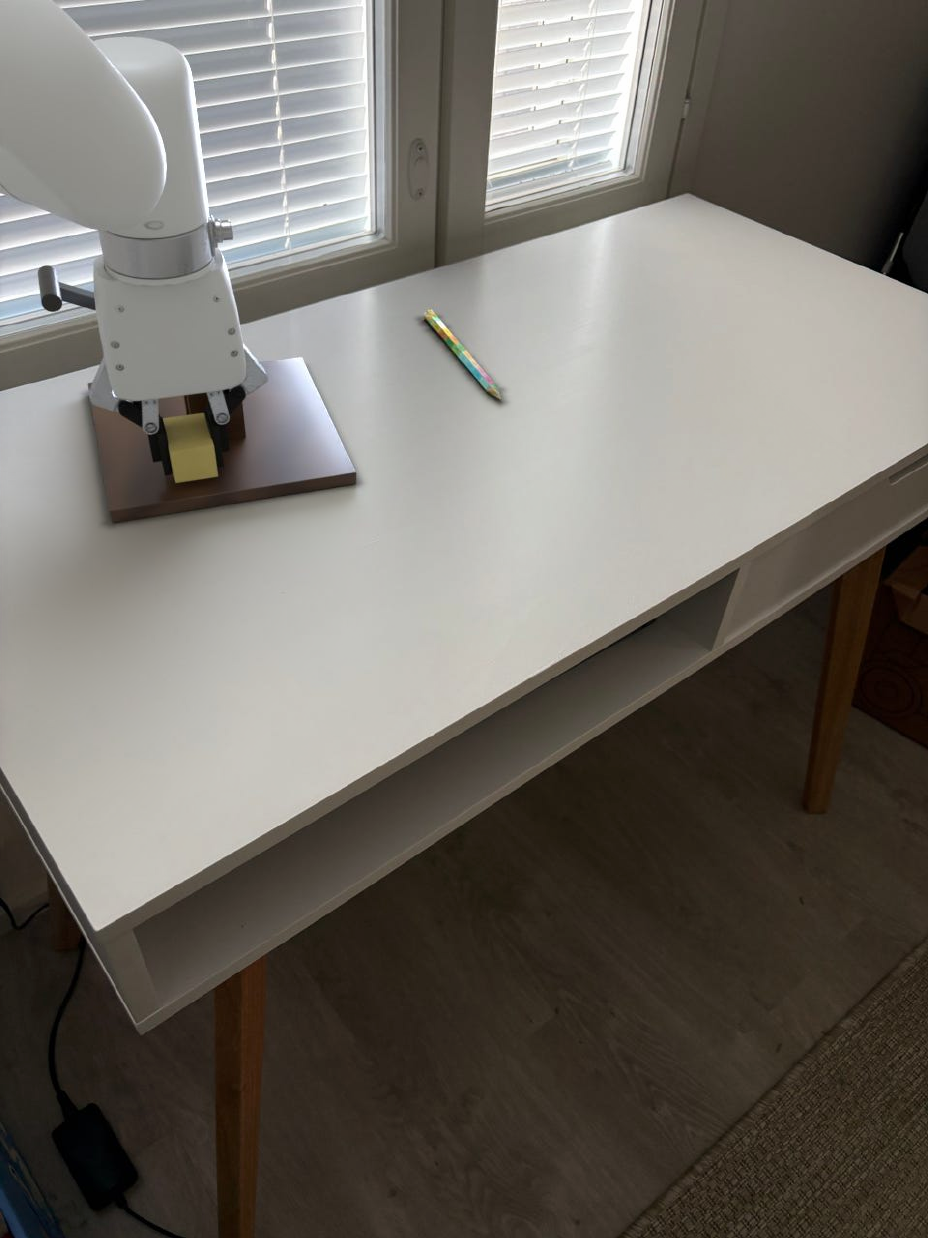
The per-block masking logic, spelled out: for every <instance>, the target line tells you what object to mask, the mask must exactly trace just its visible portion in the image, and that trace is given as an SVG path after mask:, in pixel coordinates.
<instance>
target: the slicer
mask: <svg viewBox="0 0 928 1238" xmlns="http://www.w3.org/2000/svg"><path fill="white" fill-rule="evenodd" d="M258 362H259V363H260V365H261V366H262V367H263V368H264V370H265V373H266V375H267V377H268V380H267V382H266V383H265V384H264V385H262V386H261V387H259V388H258V389H256V390H255V391H254V392H252V393H251V394H250V393H249V394H247V395H246V397H245V399H244V400H243V401H242V402H241V403H240V405H239V406H238V407H237V408H236V409H235V410H234V411H233V412H232V413H231V415H230V420H229V422H228V423H226V426H227V433H228V441H229V449H230V451H227V452H222V455H223V462H224V467H220V468H218V467H217V472H218V477H212V478H205V479H199V480H192V481H186V482H179V483H175V479H174V475H173V473H171V475H168V476H165V474H164V470H163V465H162V461H160V462H153V460H152V456H151V451H150V446H149V440H148V435H147V434H146V433H145V432H144V431H143V428H142V427H140V426H138V425H137V424H135V423H133V422H131V421H130V420H128V419H126V418H125V417H123V416H122V415H120V413H118V412H115V411H114V412H112V411H109V410H106V409H103V408H99V407H96V406H94V405H92V404H91V403H90V408H91V412H92V413H91V414H92V419H93V425H94V431H95V436H96V441H97V448H98V453H99V459H100V464H101V470H102V476H103V482H104V483H103V484H104V489H105V493H106V494H105V495H106V500H107V507H108V511H109V516H110V521H111V523H112V524H113V523H120V522H125V521H133V520H138V519H144V518H150V517H151V518H152V517H156V516H163V515H169V514H176V513H181V512H187V511H194V510H200V509H201V510H202V509H207V508H212V507H213V508H214V507H219V506H225V505H231V504H232V505H233V504H238V503H243V502H244V503H245V502H250V501H251V502H252V501H256V500H262V499H263V500H264V499H270V498H275V497H281V496H288V495H293V494H300V493H305V492H307V493H308V492H312V491H319V490H324V489H329V488H330V489H331V488H337V487H343V486H350V485H356V484H357V471H356V469H355V467H354V464H353V463H352V460H351V458H350V456H349V454H348V452H347V450H346V448H345V445H344V444H343V442H342V439H341V437H340V435H339V433H338V431H337V429H336V427H335V424H334V422H333V420H332V418H331V416H330V414H329V412H328V410H327V408H326V405H325V403H324V400H323V399H322V397H321V394H320V392H319V390H318V388H317V386H316V384H315V382H314V380H313V377H312V376H311V374H310V371H309V369H308V368H307V365H306V363H305V361H304V358H303V357H302V356H299V357H290V358H282V359H275V360H266V361H258ZM91 385H92V382H88V383H87V389H88V391H89V389H90V387H91ZM208 404H209V400H208V397H207V394H206V393H199V394H192V395H184V396H177V397H169V398H161V399H159V414H160V417H163V418H169V417H176V416H183V415H191V414H198V413H204V411H206V407H207V405H208Z"/></svg>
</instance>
